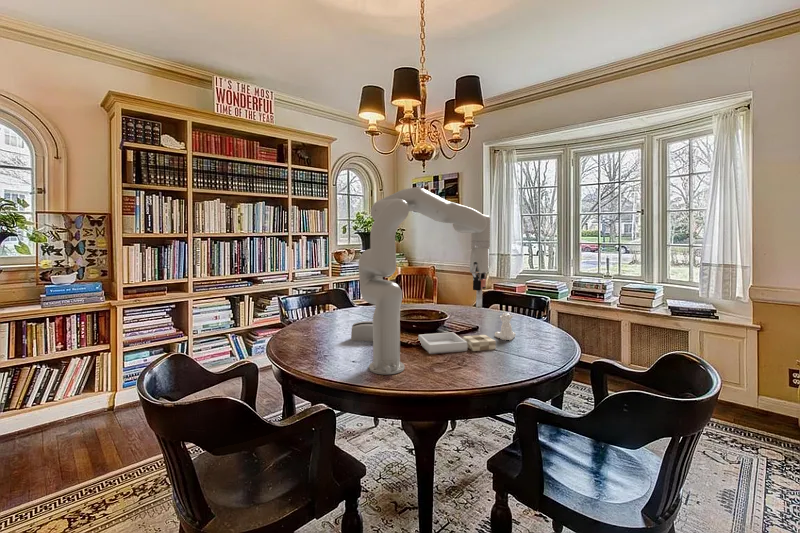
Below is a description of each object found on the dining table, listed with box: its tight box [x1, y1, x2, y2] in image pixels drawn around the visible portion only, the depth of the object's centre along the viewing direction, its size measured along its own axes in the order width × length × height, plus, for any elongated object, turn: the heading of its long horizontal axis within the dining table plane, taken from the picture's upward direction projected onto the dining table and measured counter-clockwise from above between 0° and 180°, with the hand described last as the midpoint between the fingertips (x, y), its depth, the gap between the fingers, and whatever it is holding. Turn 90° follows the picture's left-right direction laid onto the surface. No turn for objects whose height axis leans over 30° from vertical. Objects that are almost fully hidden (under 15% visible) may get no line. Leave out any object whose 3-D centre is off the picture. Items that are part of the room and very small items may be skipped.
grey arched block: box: [350, 320, 373, 342], centre depth 177 cm, size 17×5×10 cm, turn 86°
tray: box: [418, 331, 468, 355], centre depth 167 cm, size 16×16×4 cm
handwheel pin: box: [475, 278, 487, 309], centre depth 165 cm, size 5×5×12 cm
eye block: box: [462, 334, 497, 352], centre depth 167 cm, size 10×10×4 cm
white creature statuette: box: [494, 312, 516, 341], centre depth 178 cm, size 10×9×12 cm
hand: (479, 288), depth 164 cm, fingers closed on handwheel pin, 5 cm apart
